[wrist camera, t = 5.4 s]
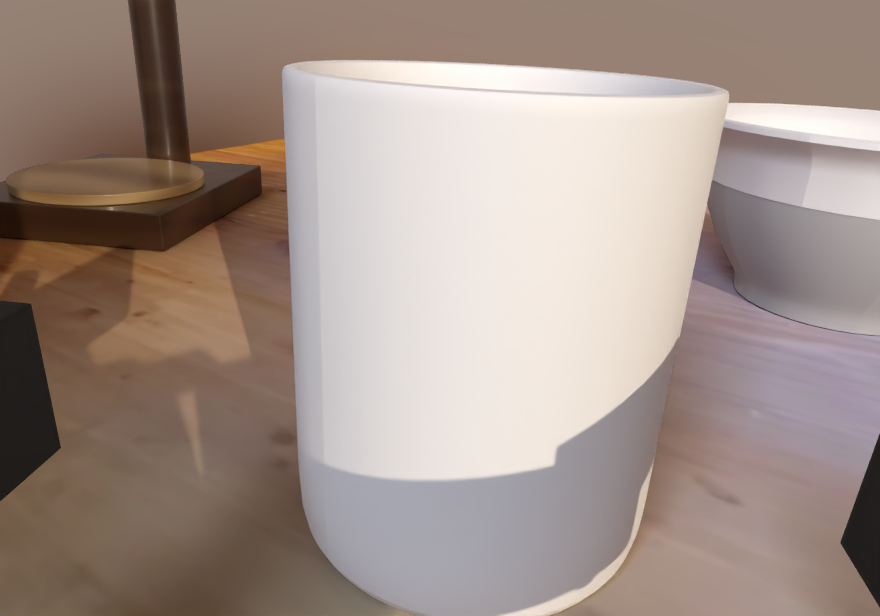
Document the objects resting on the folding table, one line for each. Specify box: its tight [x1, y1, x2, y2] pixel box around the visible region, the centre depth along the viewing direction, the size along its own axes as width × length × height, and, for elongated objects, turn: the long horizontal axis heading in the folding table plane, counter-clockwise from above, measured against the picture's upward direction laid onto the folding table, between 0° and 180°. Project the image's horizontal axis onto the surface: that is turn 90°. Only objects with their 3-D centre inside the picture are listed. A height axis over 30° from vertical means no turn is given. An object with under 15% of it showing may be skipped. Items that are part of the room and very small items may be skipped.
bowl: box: [707, 103, 880, 335], centre depth 32 cm, size 16×16×9 cm
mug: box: [282, 60, 729, 616], centre depth 17 cm, size 9×12×11 cm
